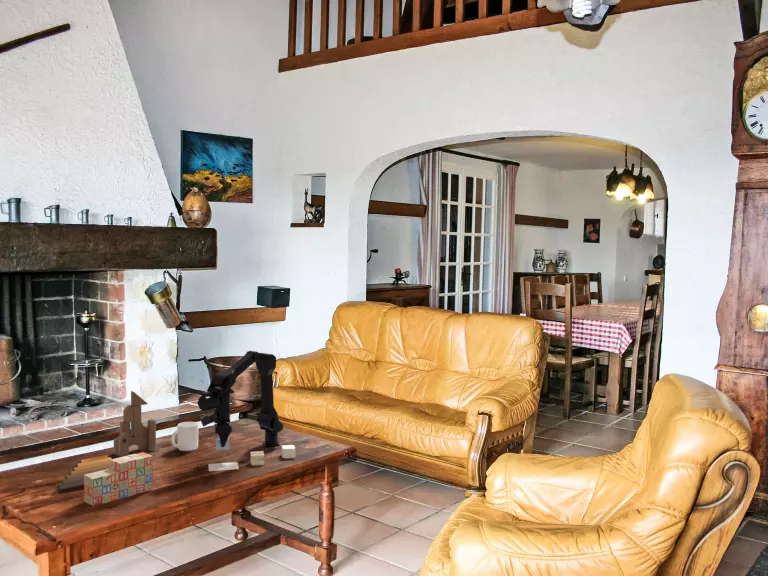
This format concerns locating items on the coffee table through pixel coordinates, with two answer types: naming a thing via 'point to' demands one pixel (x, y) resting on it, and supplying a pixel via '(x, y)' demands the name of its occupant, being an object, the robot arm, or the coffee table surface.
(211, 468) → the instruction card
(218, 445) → the blue brick
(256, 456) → the beech brick
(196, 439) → the mug
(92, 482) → the stack of blocks
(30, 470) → the coffee table surface
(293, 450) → the cream brick
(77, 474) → the pan flute
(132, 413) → the wooden toy
